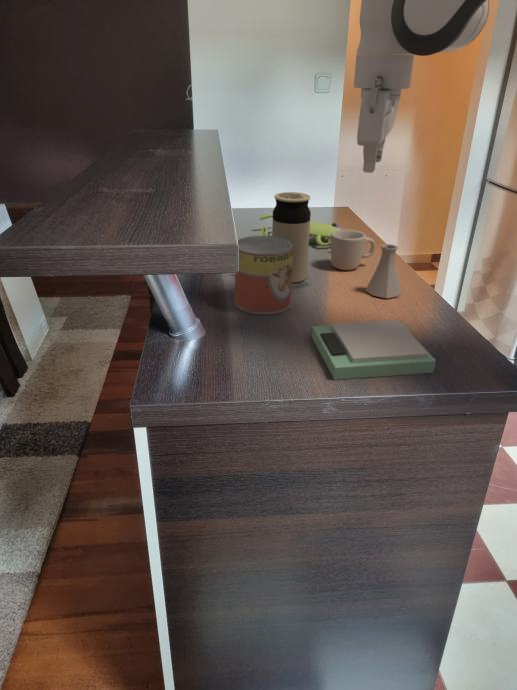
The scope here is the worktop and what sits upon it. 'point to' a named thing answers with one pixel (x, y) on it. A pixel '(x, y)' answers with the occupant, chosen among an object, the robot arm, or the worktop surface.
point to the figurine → (312, 230)
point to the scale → (371, 350)
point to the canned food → (264, 274)
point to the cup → (349, 248)
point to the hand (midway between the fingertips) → (372, 166)
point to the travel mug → (294, 228)
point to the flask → (385, 275)
